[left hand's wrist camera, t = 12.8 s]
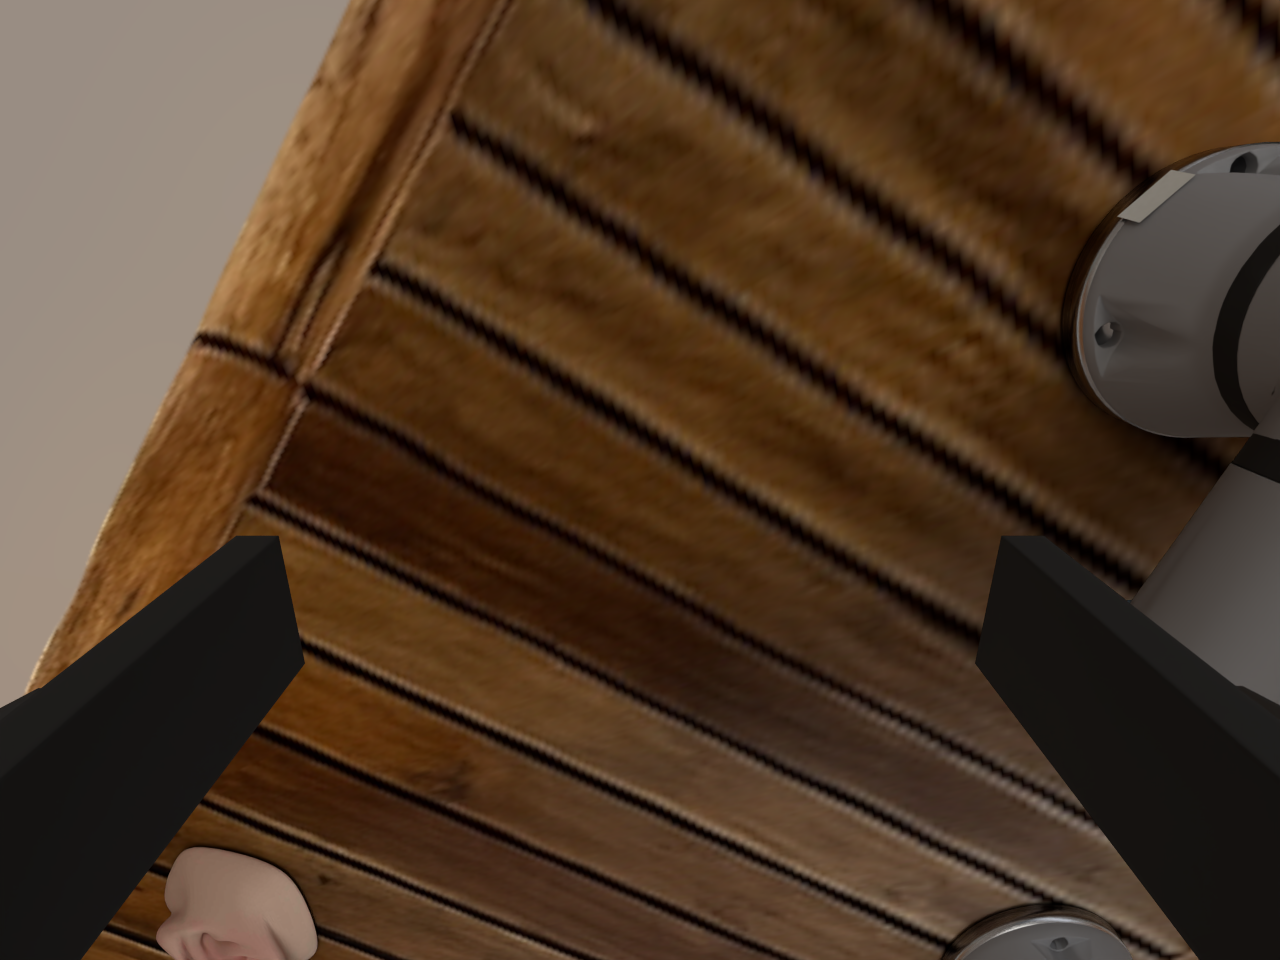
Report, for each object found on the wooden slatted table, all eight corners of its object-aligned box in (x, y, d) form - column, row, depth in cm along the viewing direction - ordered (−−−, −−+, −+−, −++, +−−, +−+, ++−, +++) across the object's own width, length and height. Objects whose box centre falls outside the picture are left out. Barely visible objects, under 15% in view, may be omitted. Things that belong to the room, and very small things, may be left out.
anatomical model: (115, 891, 49) (277, 897, 49) (152, 843, 53) (303, 849, 53) (152, 1013, 54) (300, 1018, 54) (184, 961, 57) (322, 966, 58)
